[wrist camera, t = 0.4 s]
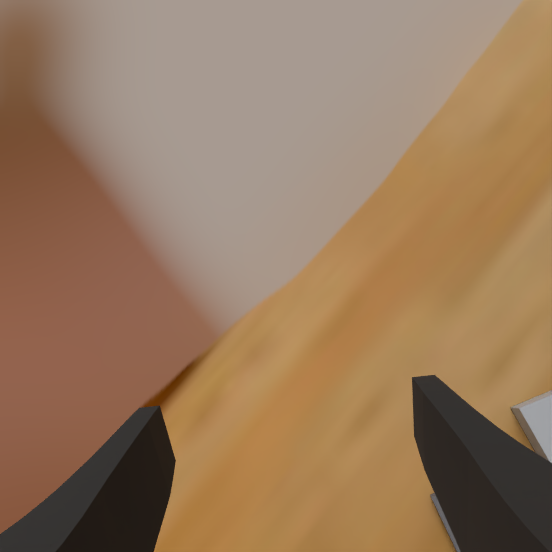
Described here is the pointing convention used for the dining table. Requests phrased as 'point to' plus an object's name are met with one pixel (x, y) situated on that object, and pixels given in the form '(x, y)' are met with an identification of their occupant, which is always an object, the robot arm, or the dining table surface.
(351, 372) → the dining table surface
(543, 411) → the plate
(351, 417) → the dining table surface
